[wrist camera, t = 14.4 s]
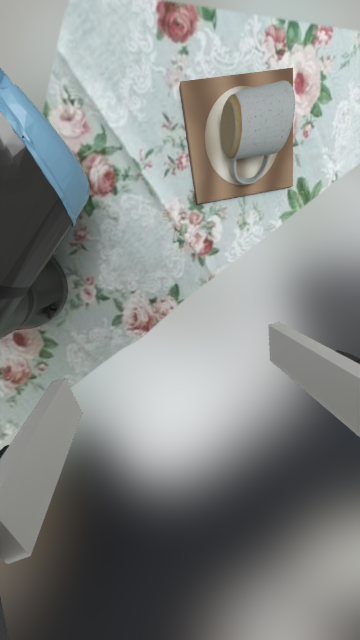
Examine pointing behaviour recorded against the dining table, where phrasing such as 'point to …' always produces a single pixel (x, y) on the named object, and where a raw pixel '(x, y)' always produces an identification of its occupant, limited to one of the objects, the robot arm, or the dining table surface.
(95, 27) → the dining table surface
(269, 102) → the ceramic mug
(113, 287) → the dining table surface
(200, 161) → the board
